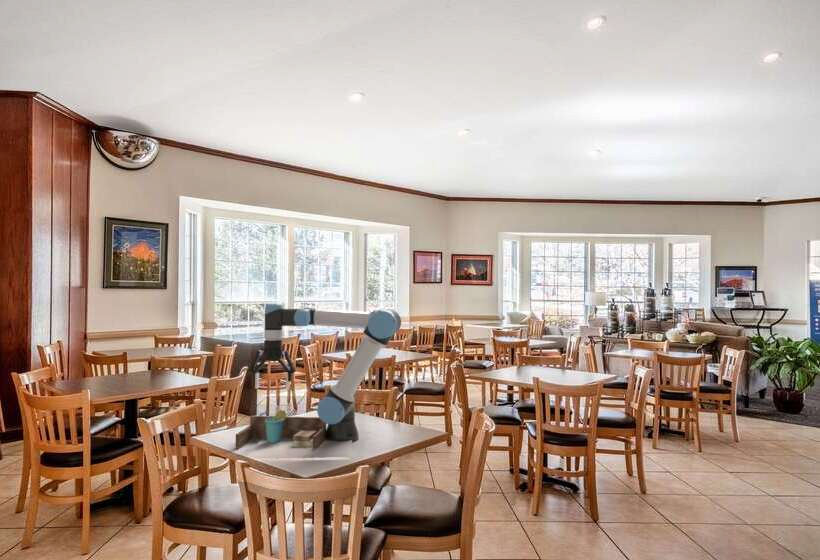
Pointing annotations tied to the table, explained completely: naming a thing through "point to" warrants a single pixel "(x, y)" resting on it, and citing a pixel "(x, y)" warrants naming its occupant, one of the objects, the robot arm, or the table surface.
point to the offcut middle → (303, 443)
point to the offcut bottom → (299, 446)
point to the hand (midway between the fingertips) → (272, 388)
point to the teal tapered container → (274, 426)
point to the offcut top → (304, 435)
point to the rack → (282, 429)
